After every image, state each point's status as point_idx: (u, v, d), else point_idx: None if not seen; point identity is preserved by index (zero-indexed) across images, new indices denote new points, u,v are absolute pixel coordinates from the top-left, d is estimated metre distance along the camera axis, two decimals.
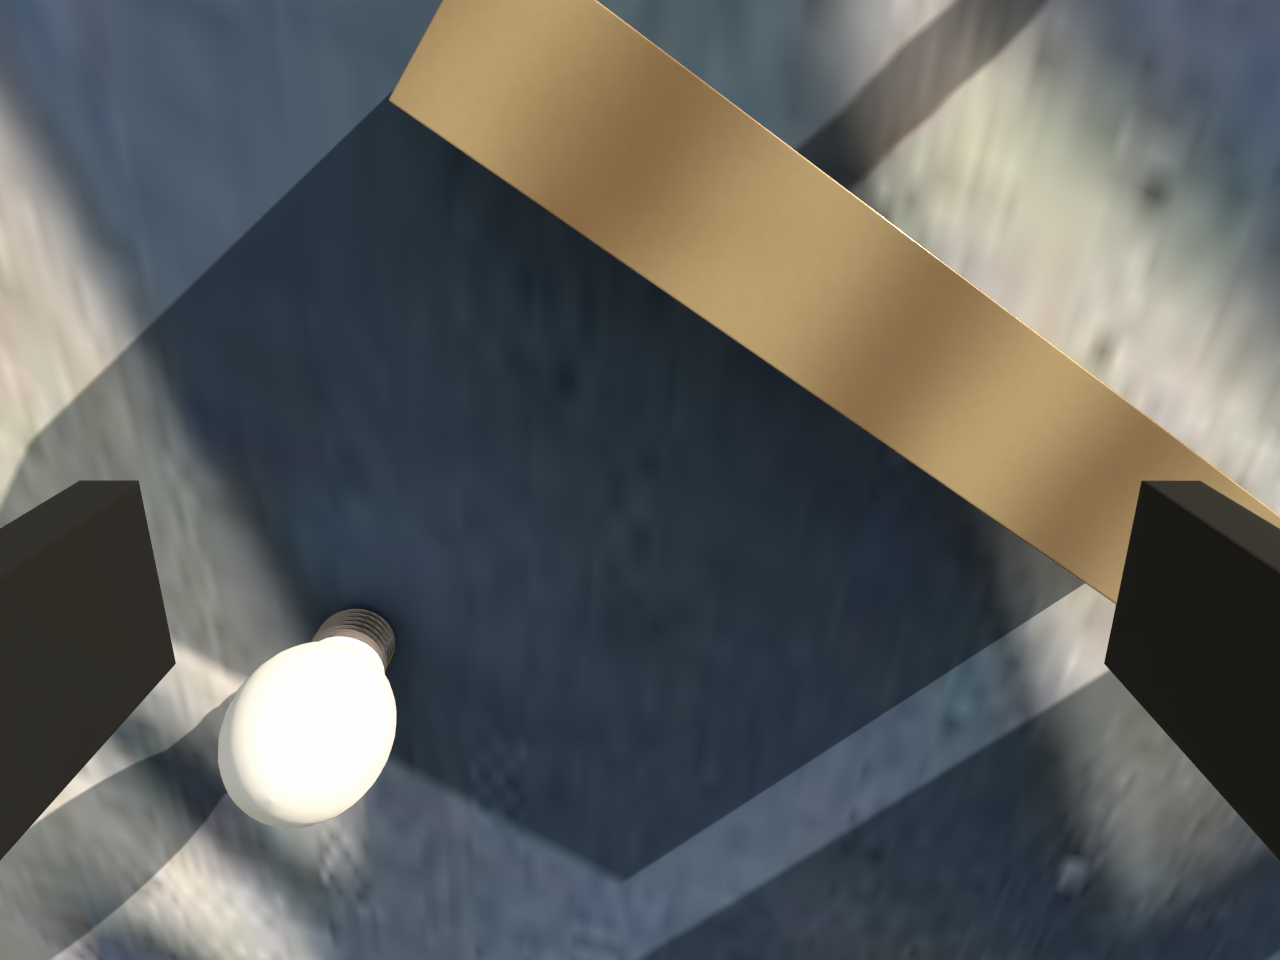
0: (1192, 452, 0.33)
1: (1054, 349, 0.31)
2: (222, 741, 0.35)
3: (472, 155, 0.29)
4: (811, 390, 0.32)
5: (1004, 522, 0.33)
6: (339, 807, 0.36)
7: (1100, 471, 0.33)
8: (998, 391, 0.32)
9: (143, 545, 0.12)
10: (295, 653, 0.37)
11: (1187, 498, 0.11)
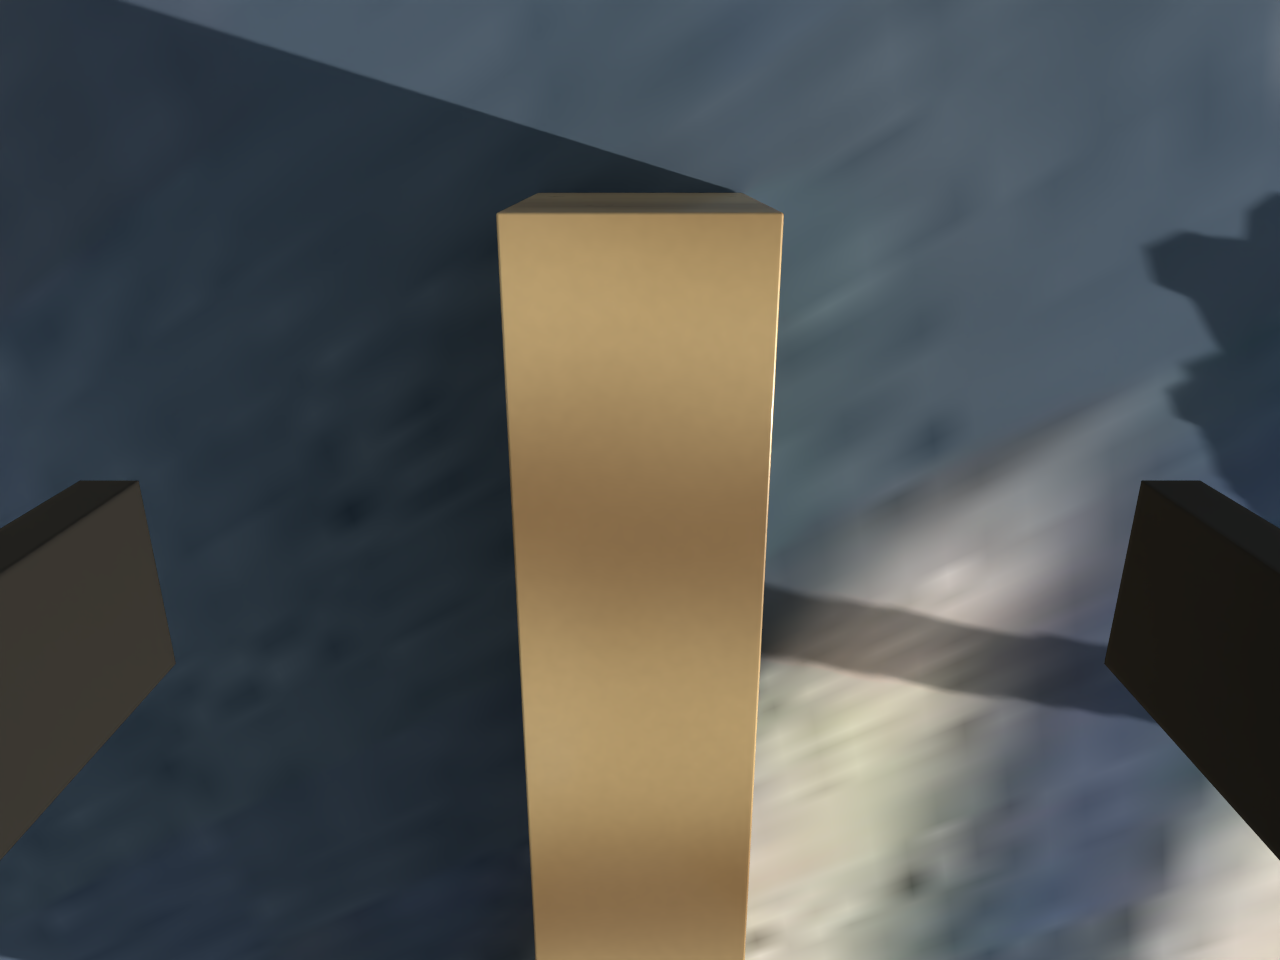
0: None
1: None
2: None
3: (508, 355, 0.20)
4: (533, 851, 0.25)
5: None
6: None
7: None
8: None
9: (143, 545, 0.12)
10: None
11: (1187, 498, 0.11)
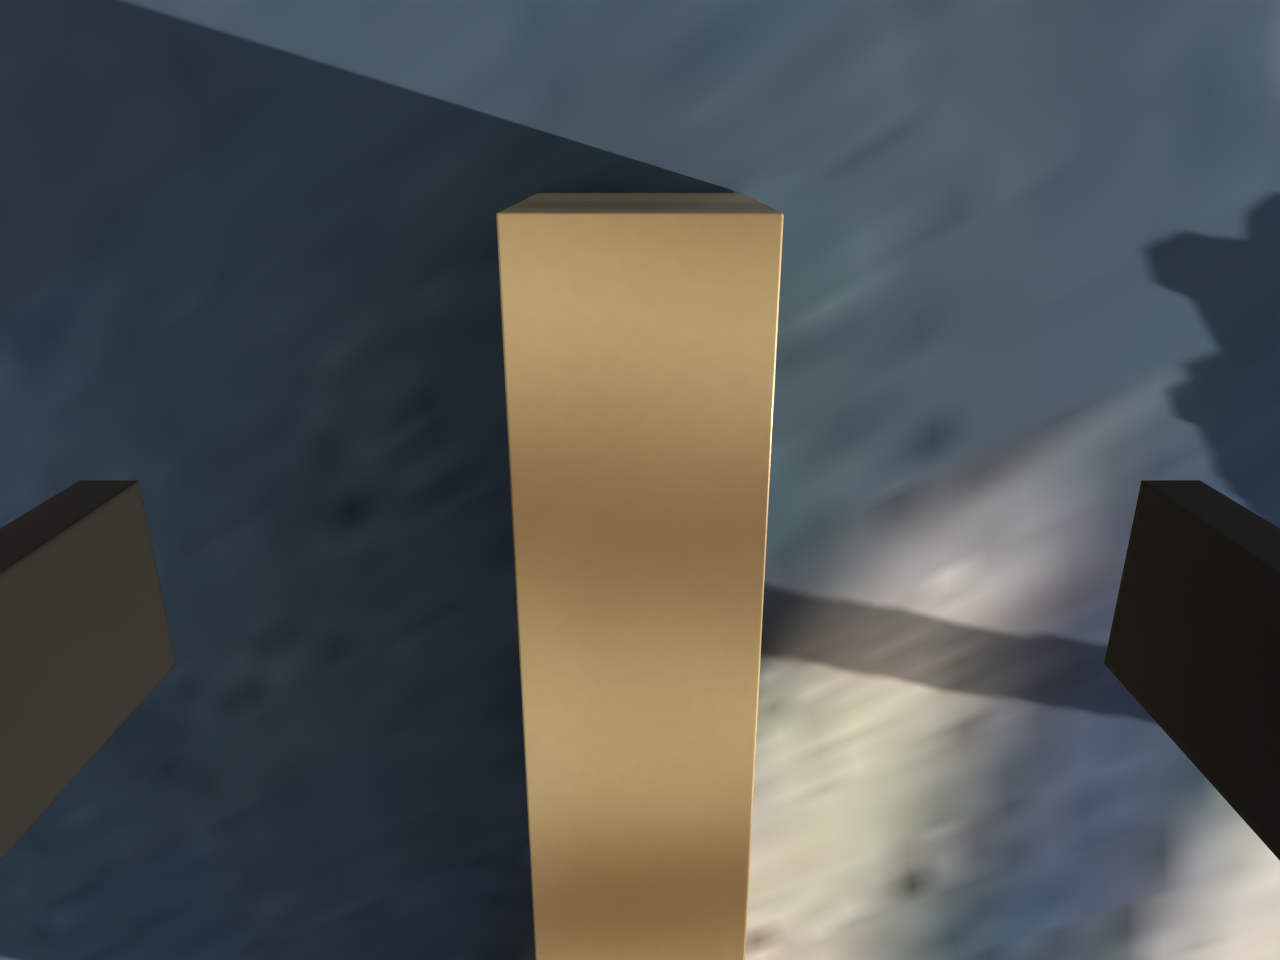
0: None
1: None
2: None
3: (508, 355, 0.20)
4: (533, 851, 0.25)
5: None
6: None
7: None
8: None
9: (143, 545, 0.12)
10: None
11: (1187, 498, 0.11)
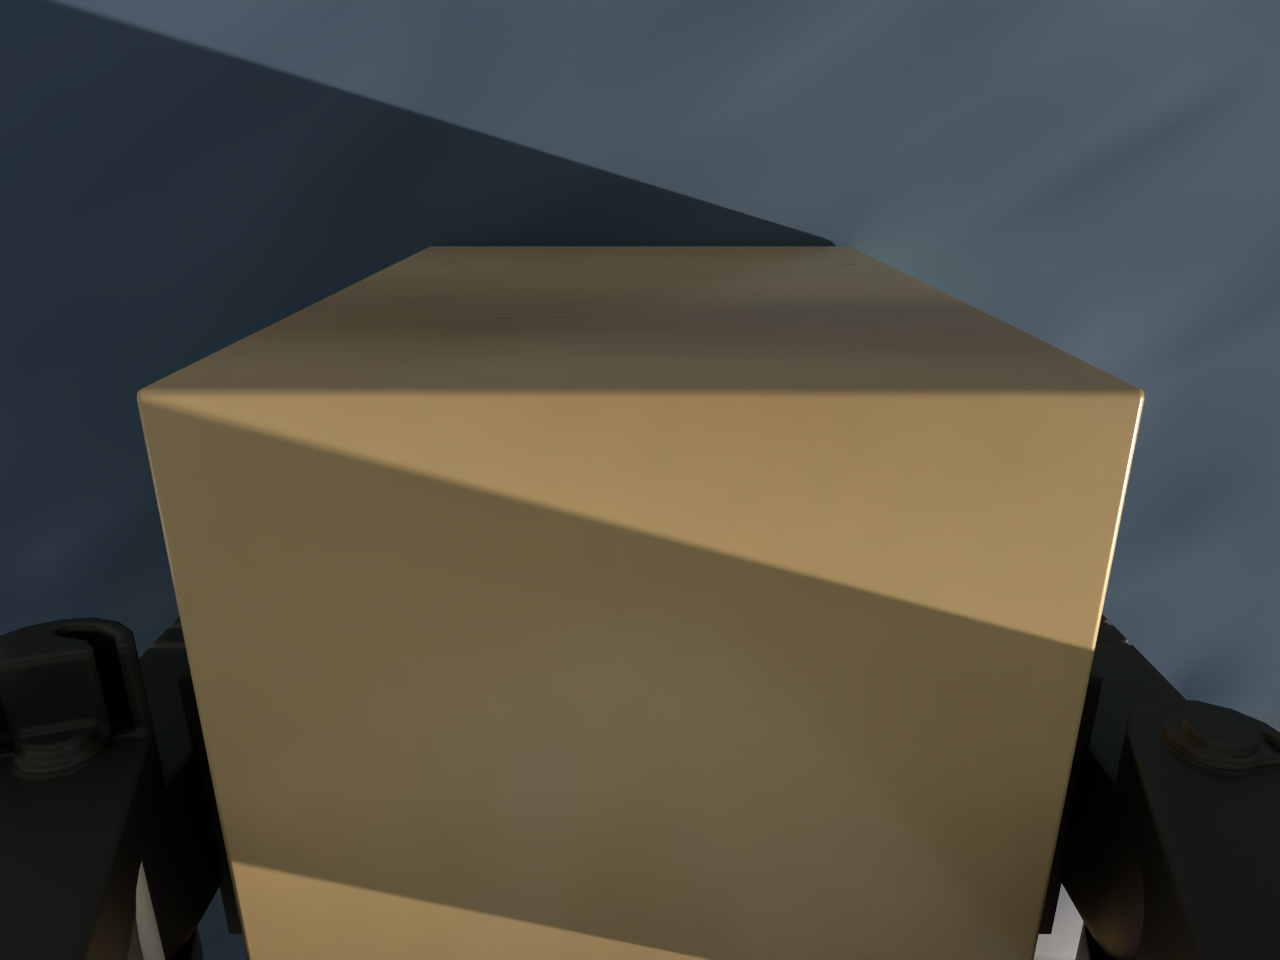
0: None
1: None
2: None
3: (230, 807, 0.06)
4: None
5: None
6: None
7: None
8: None
9: None
10: None
11: None
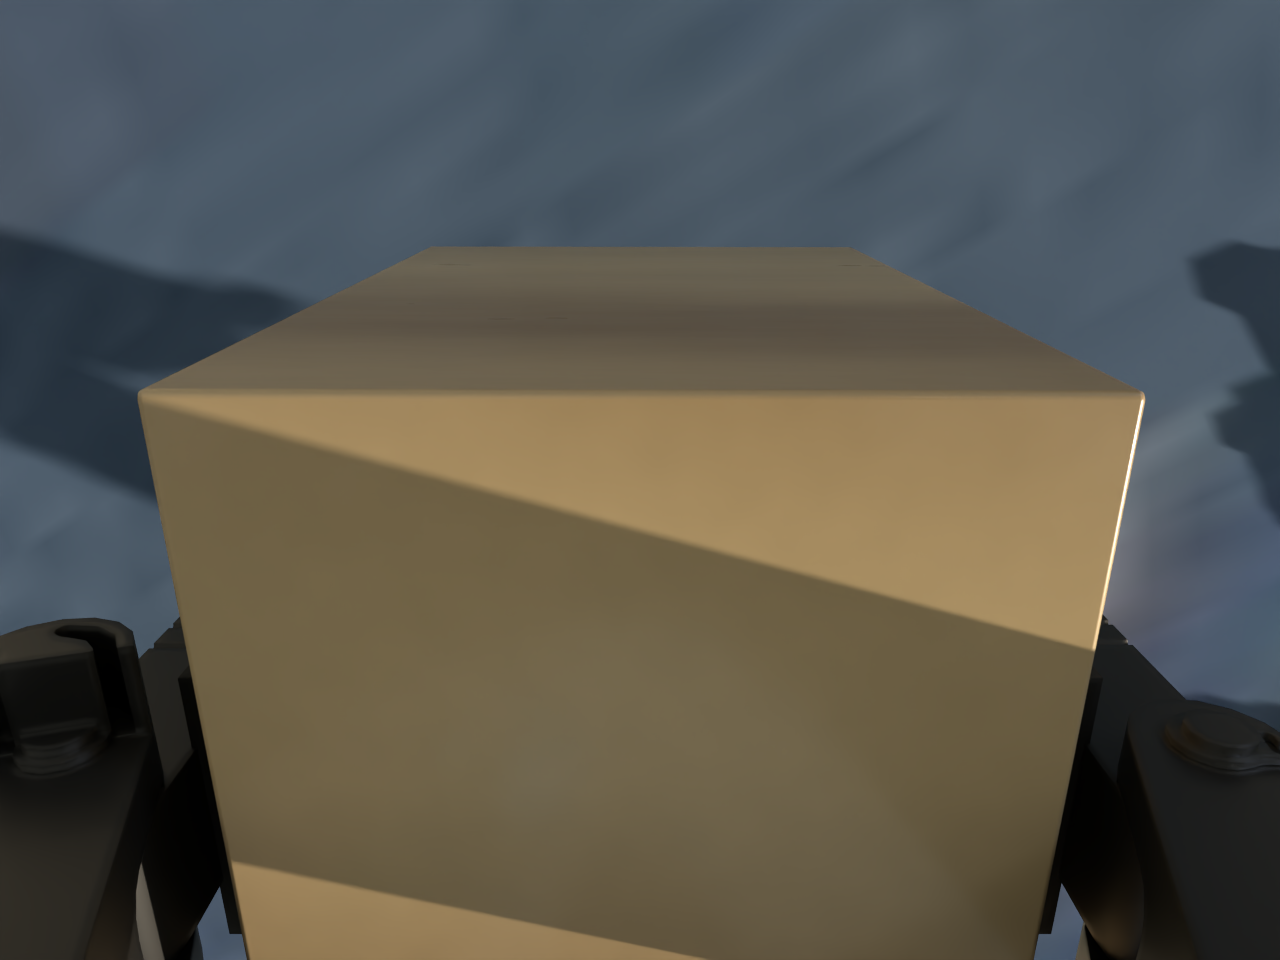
0: None
1: None
2: None
3: (228, 807, 0.06)
4: None
5: None
6: None
7: None
8: None
9: None
10: None
11: None
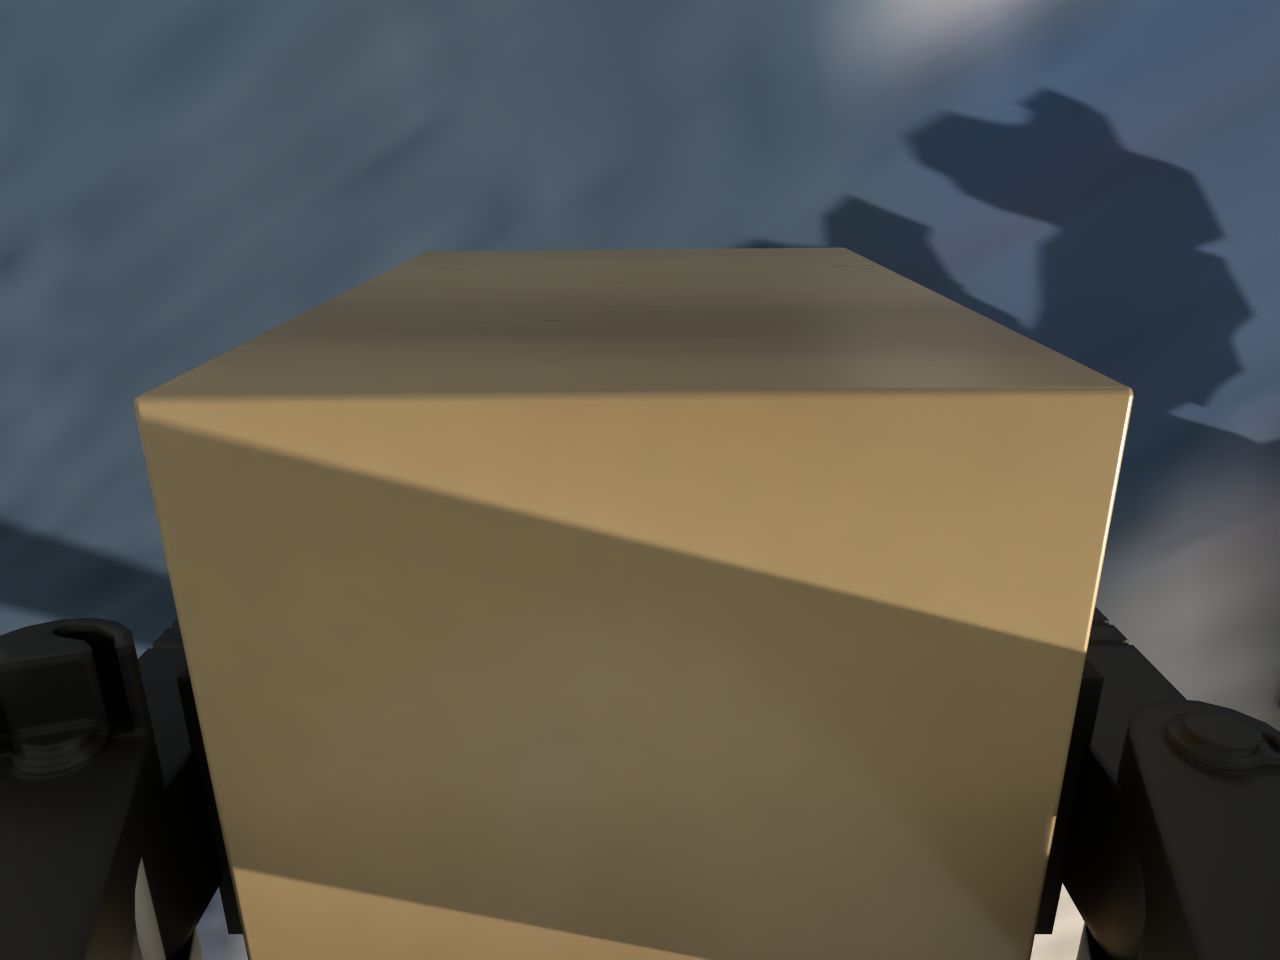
0: None
1: None
2: None
3: (230, 809, 0.06)
4: None
5: None
6: None
7: None
8: None
9: None
10: None
11: None
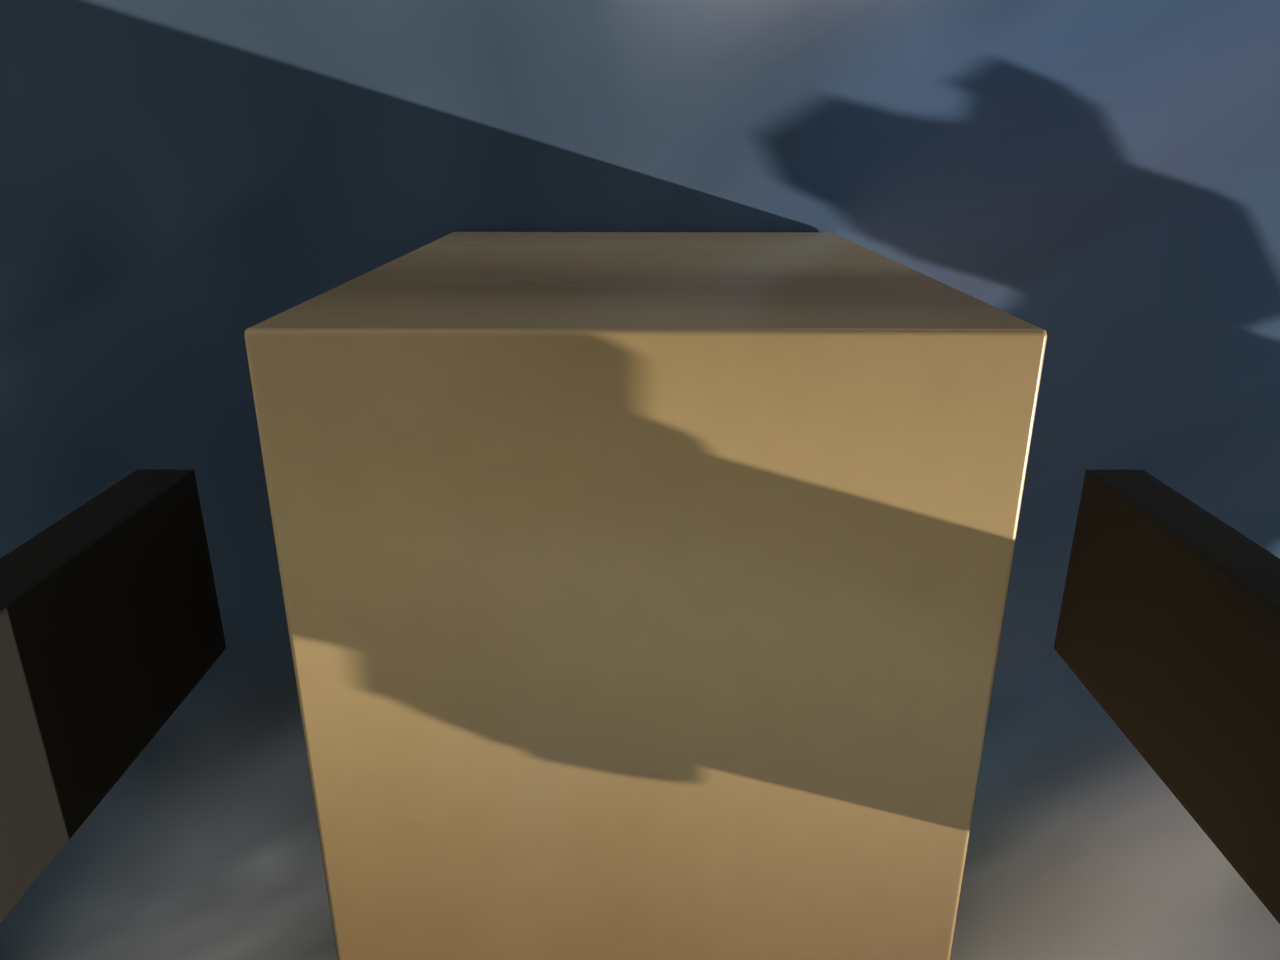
0: None
1: None
2: None
3: (305, 681, 0.08)
4: None
5: None
6: None
7: None
8: None
9: (197, 533, 0.12)
10: None
11: (1127, 486, 0.12)
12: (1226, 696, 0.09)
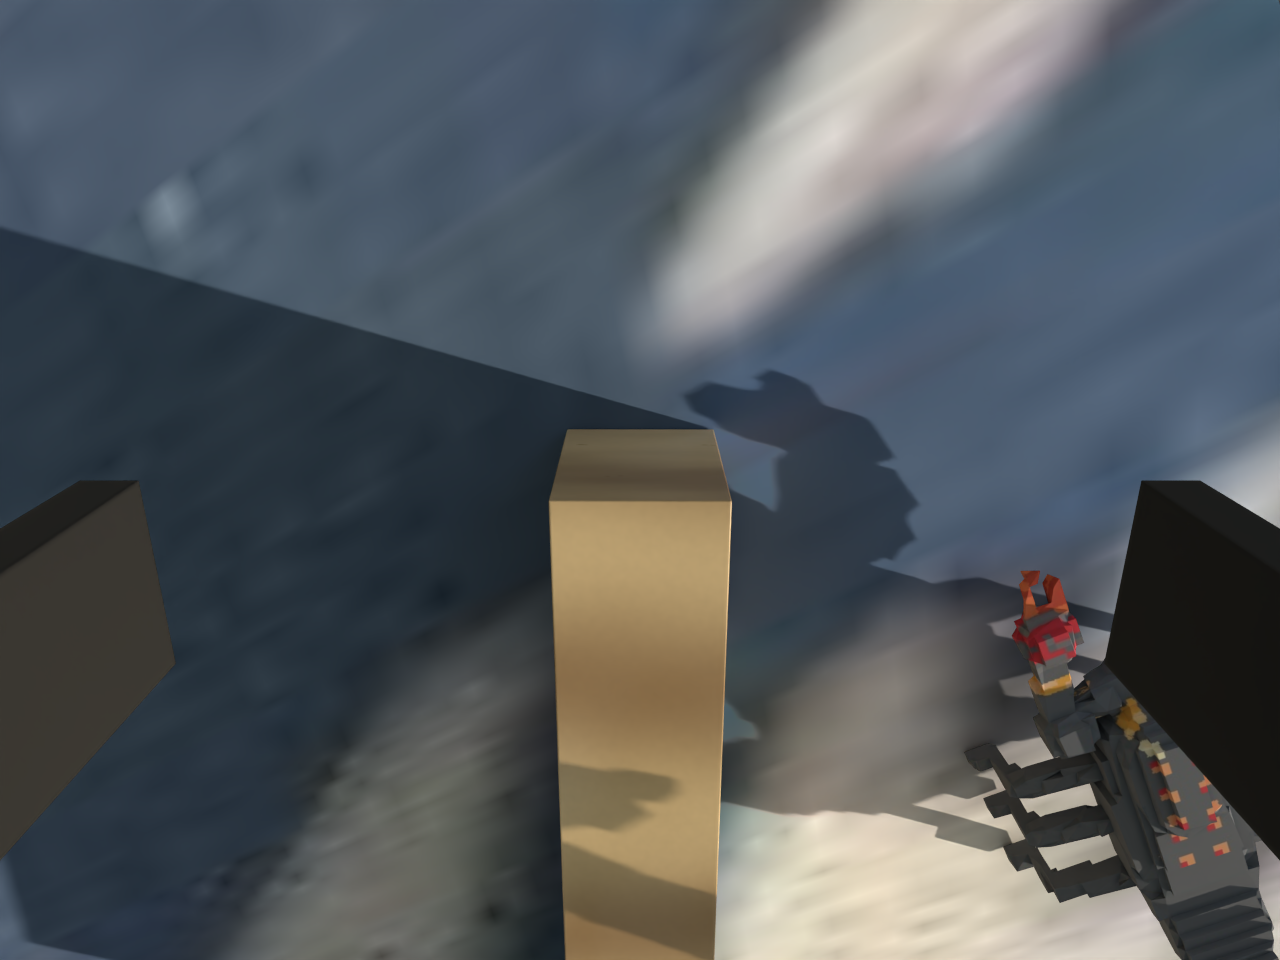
0: None
1: None
2: None
3: (554, 583, 0.31)
4: (565, 898, 0.36)
5: None
6: None
7: None
8: None
9: (143, 545, 0.12)
10: None
11: (1186, 498, 0.11)
12: None
